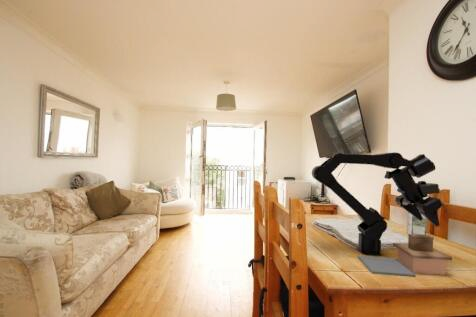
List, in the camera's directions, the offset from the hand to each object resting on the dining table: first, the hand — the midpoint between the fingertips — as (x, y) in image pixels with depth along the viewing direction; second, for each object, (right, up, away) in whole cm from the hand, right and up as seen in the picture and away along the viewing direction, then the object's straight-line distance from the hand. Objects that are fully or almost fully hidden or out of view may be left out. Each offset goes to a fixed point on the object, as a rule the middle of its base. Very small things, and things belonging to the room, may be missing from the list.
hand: (429, 222), depth 89 cm
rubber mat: (-21, -11, -9) cm, 26 cm away
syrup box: (+13, -12, +25) cm, 30 cm away
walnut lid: (-10, -7, -9) cm, 15 cm away
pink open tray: (-10, -12, -9) cm, 18 cm away
